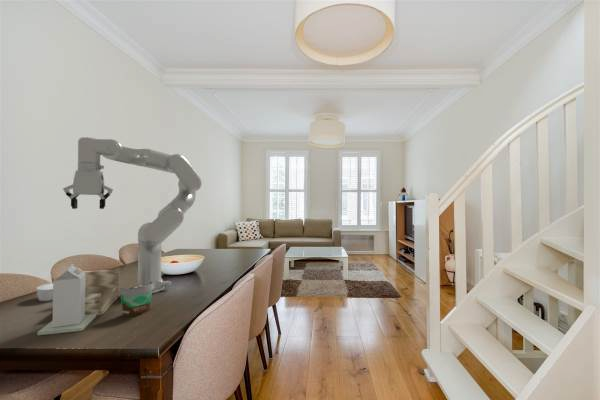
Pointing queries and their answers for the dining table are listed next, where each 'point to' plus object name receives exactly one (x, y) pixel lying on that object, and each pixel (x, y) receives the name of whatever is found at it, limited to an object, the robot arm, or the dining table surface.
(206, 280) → the dining table surface
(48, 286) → the ramekin
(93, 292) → the birch rack
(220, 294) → the dining table surface
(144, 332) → the dining table surface
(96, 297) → the offcut stack
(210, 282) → the dining table surface
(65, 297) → the milk carton
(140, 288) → the food container
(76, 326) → the sage board
